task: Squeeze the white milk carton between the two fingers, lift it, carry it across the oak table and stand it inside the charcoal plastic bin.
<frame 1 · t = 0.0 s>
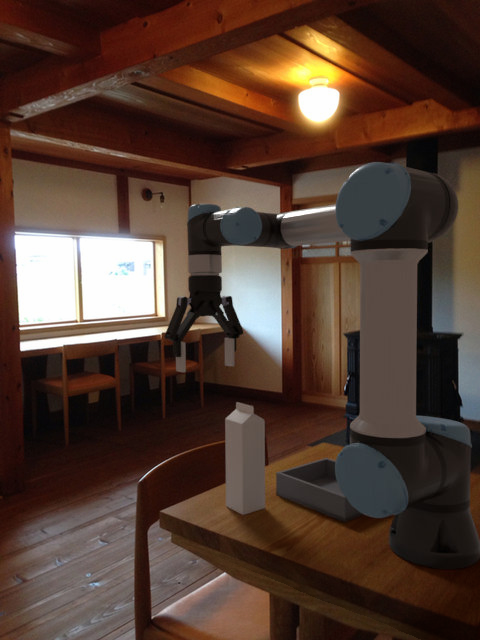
hand: (206, 368, 125), 28 cm above the table, fingers open, 13 cm apart
bin: (334, 497, 121), on the table
milk: (245, 508, 116), on the table
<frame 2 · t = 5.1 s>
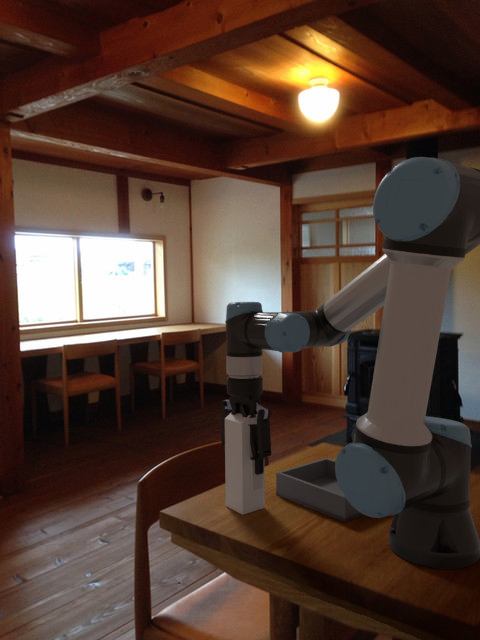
hand: (245, 484, 116), 5 cm above the table, fingers closed on milk, 6 cm apart
milk: (245, 508, 116), on the table, touching gripper
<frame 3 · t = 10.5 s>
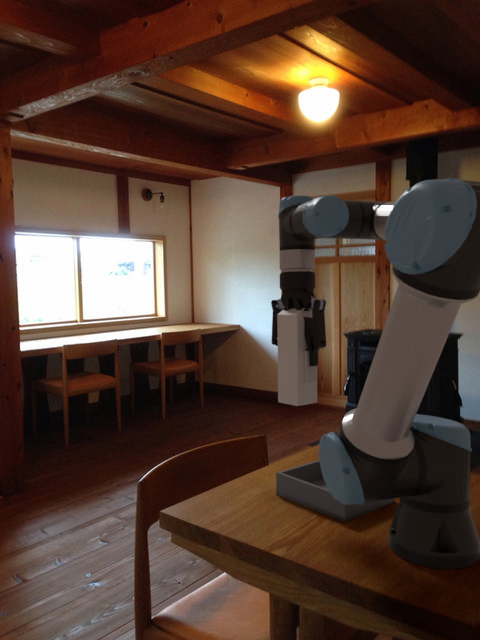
hand: (298, 379, 117), 27 cm above the table, fingers closed on milk, 6 cm apart
milk: (297, 403, 117), point 22 cm above the table, touching gripper
when the fingers open (8 cm above the table, at t = 15.8 s): milk drops 2 cm, resting on bin.
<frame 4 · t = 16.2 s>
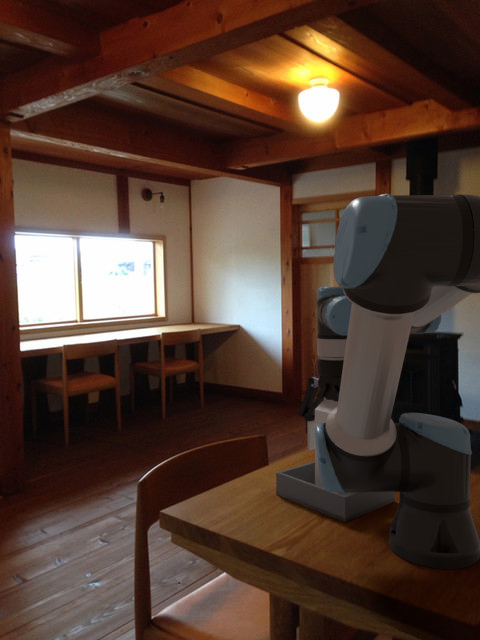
hand: (334, 455, 121), 9 cm above the table, fingers open, 12 cm apart
milk: (334, 495, 121), point 1 cm above the table, touching bin
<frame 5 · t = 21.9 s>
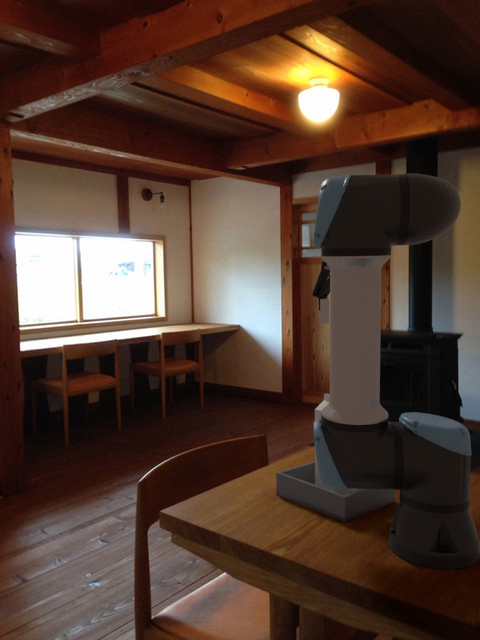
hand: (344, 324, 141), 37 cm above the table, fingers open, 13 cm apart
nothing on the table moved.
at the end: milk inside the target area on the bin (0.2 cm from its centre), point 0.6 cm above the bin's base; milk tilted 0°; the gripper is holding nothing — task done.
